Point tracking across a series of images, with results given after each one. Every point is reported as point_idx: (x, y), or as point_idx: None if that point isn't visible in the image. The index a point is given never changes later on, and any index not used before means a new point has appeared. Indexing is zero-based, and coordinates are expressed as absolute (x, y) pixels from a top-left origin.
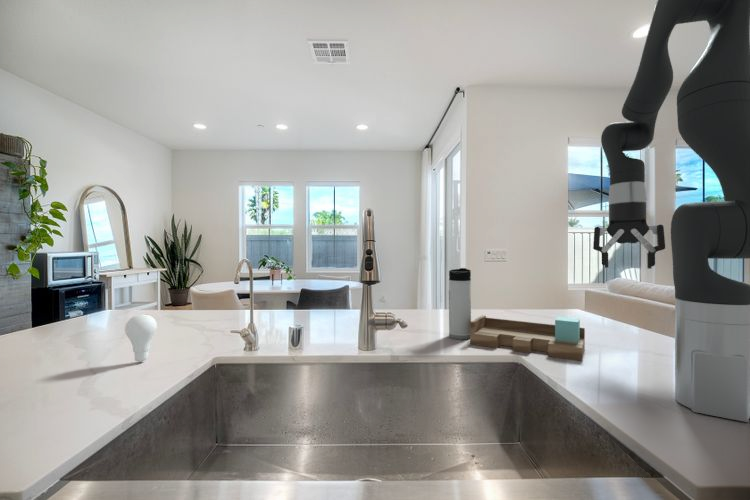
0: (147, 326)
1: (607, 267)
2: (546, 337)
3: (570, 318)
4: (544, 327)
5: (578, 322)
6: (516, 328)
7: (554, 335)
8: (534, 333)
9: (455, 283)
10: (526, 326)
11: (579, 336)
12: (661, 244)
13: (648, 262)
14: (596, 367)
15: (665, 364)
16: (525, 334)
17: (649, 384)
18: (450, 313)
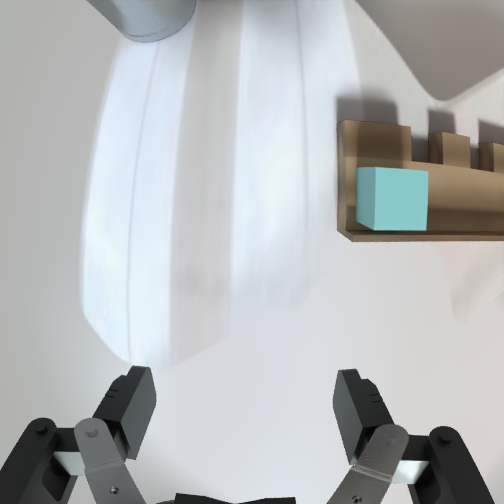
0: None
1: (341, 371)
2: None
3: (396, 219)
4: (434, 233)
5: (374, 174)
6: (477, 231)
7: None
8: (444, 216)
9: None
10: (465, 233)
11: (358, 212)
12: (34, 442)
13: (136, 383)
14: (308, 95)
15: (185, 200)
16: (458, 193)
17: (222, 47)
18: None
